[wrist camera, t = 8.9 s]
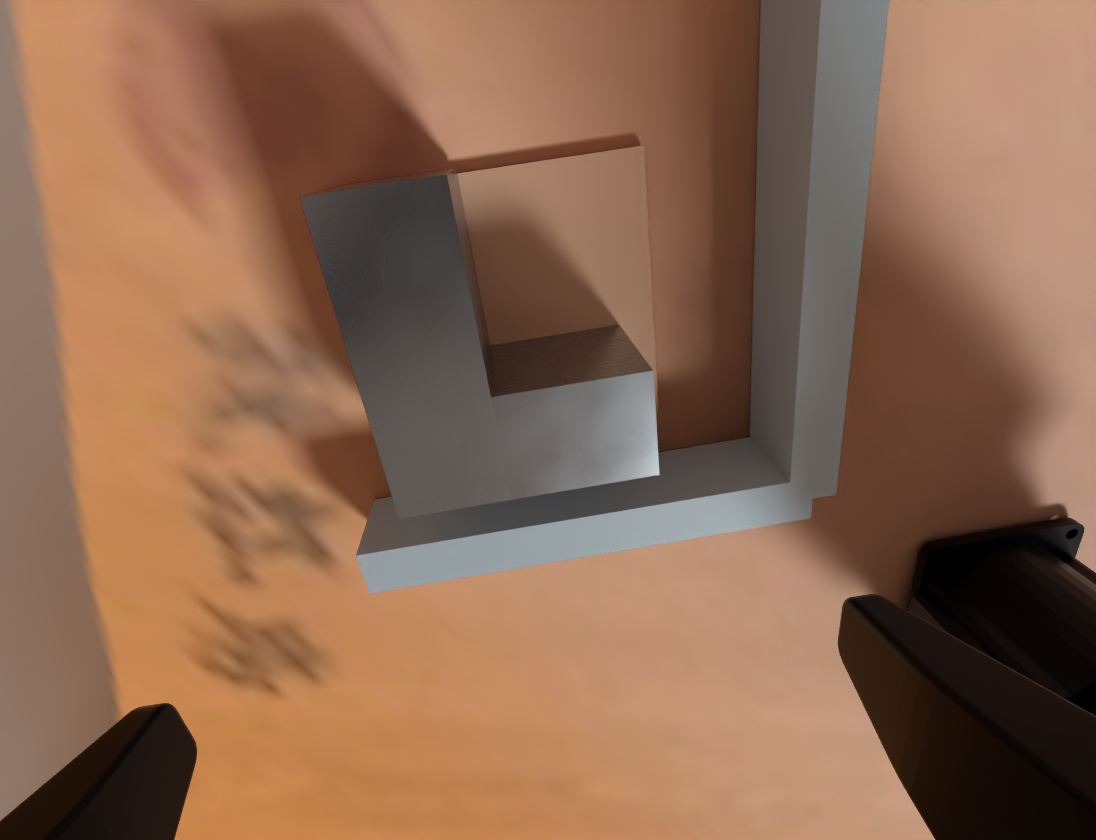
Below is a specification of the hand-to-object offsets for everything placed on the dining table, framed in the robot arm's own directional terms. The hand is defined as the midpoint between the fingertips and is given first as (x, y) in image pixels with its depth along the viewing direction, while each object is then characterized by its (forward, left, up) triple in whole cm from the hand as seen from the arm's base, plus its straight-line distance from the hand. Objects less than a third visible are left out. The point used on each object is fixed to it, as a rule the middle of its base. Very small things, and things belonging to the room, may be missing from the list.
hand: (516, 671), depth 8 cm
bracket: (0, -2, -11) cm, 12 cm away
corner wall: (-2, -2, -12) cm, 12 cm away
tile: (0, -2, -12) cm, 12 cm away
